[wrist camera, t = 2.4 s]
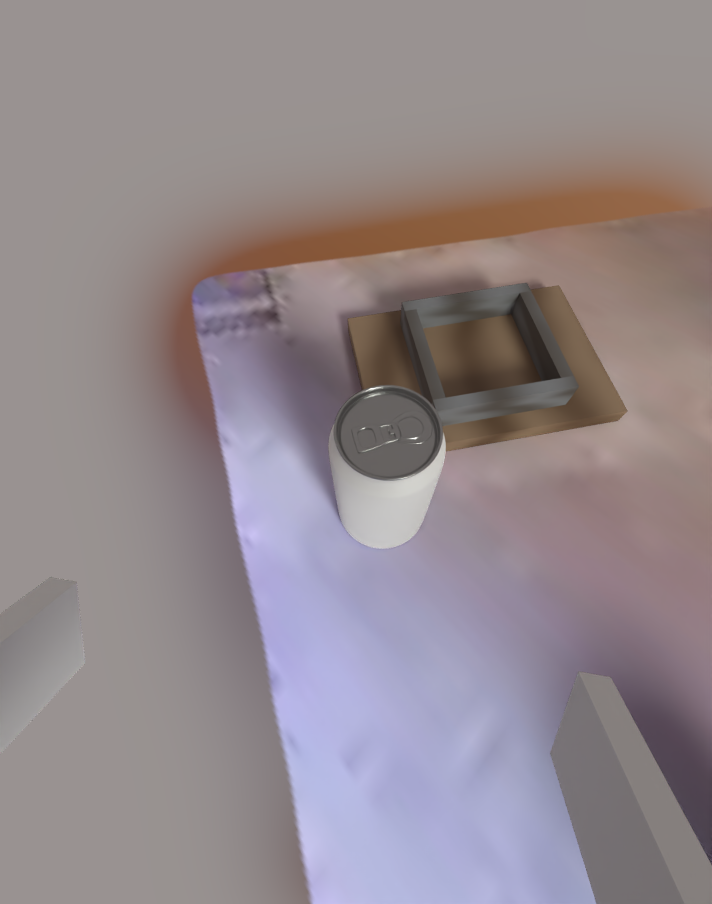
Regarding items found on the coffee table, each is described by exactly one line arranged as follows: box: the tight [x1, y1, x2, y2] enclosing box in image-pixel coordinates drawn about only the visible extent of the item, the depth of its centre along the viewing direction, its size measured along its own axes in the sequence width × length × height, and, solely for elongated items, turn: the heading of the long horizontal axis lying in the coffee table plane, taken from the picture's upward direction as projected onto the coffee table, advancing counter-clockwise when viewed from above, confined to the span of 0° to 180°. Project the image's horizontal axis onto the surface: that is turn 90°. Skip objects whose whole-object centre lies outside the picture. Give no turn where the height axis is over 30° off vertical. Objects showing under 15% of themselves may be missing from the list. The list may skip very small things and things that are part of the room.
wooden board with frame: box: [348, 283, 627, 451], centre depth 37 cm, size 20×14×4 cm
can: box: [328, 385, 446, 549], centre depth 28 cm, size 6×6×12 cm
